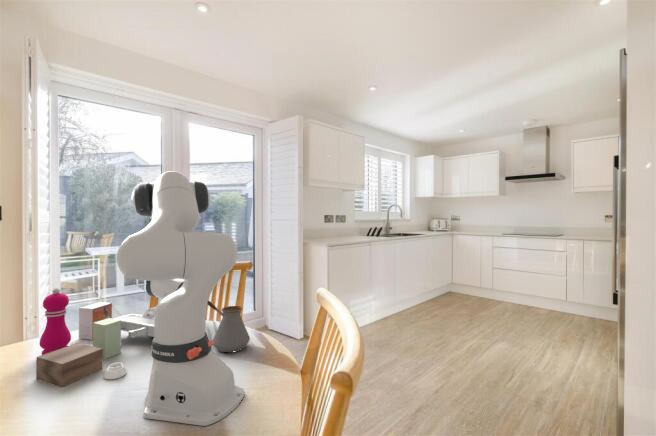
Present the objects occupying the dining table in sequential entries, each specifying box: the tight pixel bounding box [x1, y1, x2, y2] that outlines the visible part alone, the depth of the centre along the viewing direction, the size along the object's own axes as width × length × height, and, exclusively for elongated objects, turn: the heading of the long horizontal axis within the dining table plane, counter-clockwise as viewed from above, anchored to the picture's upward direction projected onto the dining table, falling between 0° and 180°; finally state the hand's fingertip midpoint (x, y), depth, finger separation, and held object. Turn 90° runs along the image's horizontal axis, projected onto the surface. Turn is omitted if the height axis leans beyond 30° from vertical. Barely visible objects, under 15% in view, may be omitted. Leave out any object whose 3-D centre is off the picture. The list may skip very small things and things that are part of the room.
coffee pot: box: [207, 300, 251, 353], centre depth 108 cm, size 21×12×15 cm, turn 60°
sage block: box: [92, 317, 122, 360], centre depth 99 cm, size 5×5×10 cm
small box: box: [78, 301, 113, 341], centre depth 114 cm, size 8×6×10 cm
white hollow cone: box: [103, 362, 128, 380], centre depth 87 cm, size 5×3×5 cm
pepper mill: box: [39, 287, 72, 355], centre depth 98 cm, size 7×7×20 cm
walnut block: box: [35, 342, 104, 388], centre depth 87 cm, size 10×10×6 cm
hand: (119, 332), depth 102 cm, fingers open, 8 cm apart
